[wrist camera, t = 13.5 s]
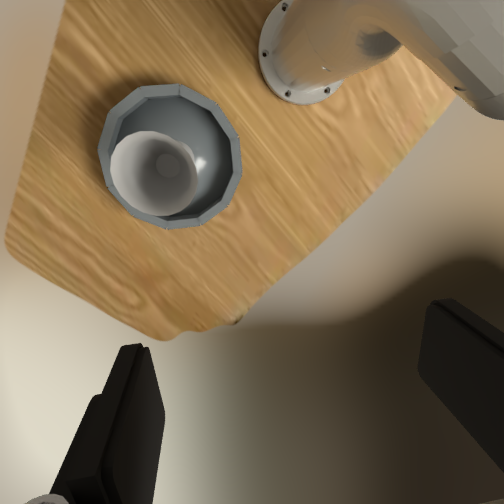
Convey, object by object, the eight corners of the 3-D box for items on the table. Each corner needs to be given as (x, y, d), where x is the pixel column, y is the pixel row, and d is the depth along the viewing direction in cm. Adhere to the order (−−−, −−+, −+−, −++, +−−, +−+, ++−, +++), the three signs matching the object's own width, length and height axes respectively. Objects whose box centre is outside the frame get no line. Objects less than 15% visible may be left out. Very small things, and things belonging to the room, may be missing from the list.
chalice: (138, 160, 42) (92, 177, 25) (169, 120, 41) (142, 110, 24) (182, 195, 44) (166, 231, 28) (212, 158, 43) (214, 173, 26)
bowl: (232, 83, 41) (234, 79, 38) (244, 214, 48) (246, 220, 44) (92, 93, 39) (82, 90, 36) (125, 228, 46) (118, 235, 43)
